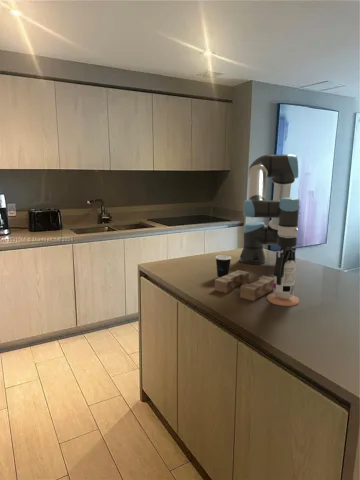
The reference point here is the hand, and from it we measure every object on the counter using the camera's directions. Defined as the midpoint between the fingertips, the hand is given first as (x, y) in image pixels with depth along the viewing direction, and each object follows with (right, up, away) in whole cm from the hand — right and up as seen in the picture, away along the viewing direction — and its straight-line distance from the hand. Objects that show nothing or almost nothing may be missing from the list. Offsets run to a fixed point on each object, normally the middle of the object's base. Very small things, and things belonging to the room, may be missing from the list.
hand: (283, 288), depth 145 cm
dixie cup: (-22, +1, +30) cm, 37 cm away
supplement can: (0, -3, +1) cm, 3 cm away
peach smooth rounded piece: (0, -5, +1) cm, 5 cm away
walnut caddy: (-14, -2, +14) cm, 20 cm away
